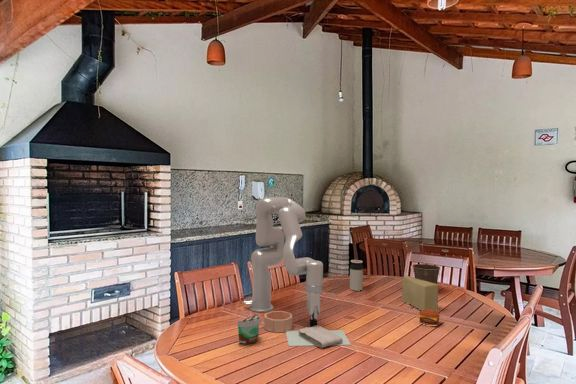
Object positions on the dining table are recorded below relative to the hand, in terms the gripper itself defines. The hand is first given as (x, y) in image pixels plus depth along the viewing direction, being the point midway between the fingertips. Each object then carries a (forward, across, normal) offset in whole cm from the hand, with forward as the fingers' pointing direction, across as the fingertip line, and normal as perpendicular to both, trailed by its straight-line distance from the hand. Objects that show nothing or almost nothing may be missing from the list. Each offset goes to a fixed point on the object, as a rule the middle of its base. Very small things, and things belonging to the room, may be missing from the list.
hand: (313, 327), depth 183 cm
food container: (+1, +13, -28) cm, 31 cm away
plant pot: (+1, -58, +79) cm, 98 cm away
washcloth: (+1, +12, +1) cm, 12 cm away
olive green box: (+1, -30, +62) cm, 69 cm away
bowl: (+1, -3, -16) cm, 16 cm away
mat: (+1, +10, 0) cm, 10 cm away
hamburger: (+1, -5, +57) cm, 57 cm away
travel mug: (+1, -65, +37) cm, 75 cm away
